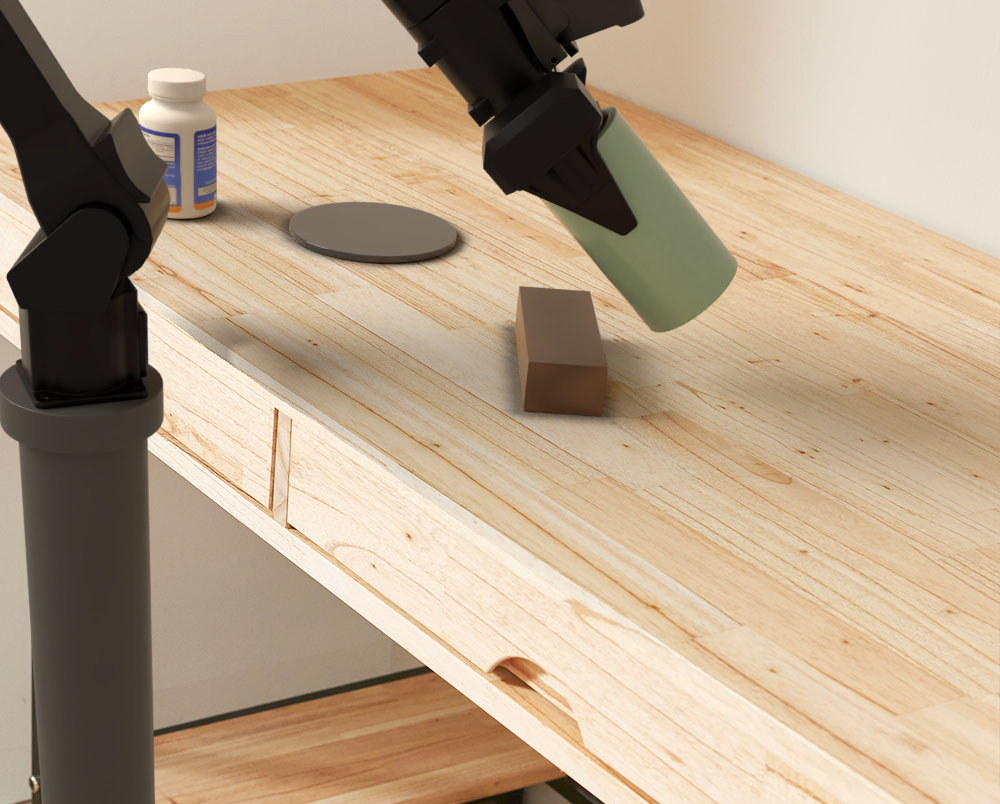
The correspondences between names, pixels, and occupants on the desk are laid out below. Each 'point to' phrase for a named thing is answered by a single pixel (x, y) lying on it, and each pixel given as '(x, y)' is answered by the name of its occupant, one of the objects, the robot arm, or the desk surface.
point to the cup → (652, 237)
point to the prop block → (559, 352)
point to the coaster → (372, 232)
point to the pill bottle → (183, 139)
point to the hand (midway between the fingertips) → (625, 211)
